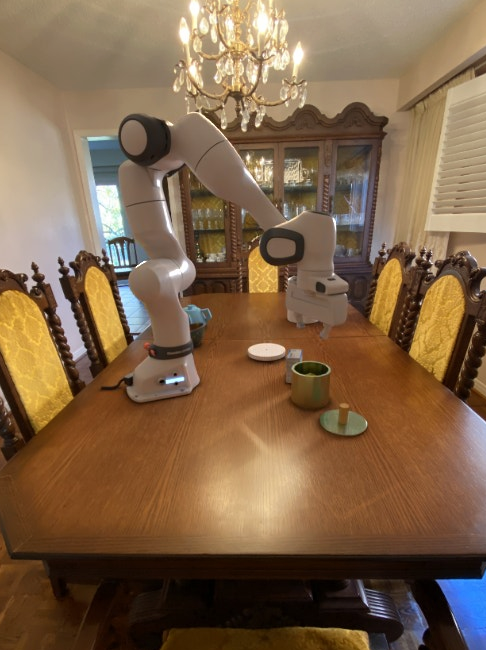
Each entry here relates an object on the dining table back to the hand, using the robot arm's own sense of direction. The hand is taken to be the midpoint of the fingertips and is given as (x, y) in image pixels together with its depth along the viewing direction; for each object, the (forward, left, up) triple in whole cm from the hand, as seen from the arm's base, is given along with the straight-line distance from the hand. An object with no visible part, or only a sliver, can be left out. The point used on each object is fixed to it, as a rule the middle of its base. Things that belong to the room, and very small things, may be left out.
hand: (311, 333), depth 91 cm
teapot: (-2, +86, -20) cm, 88 cm away
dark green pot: (-16, +62, -20) cm, 67 cm away
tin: (0, 0, -20) cm, 20 cm away
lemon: (0, 0, -20) cm, 20 cm away
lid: (-1, -14, -20) cm, 24 cm away
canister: (+50, +66, -20) cm, 85 cm away
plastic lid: (+8, +35, -20) cm, 41 cm away
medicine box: (+5, +14, -20) cm, 25 cm away
